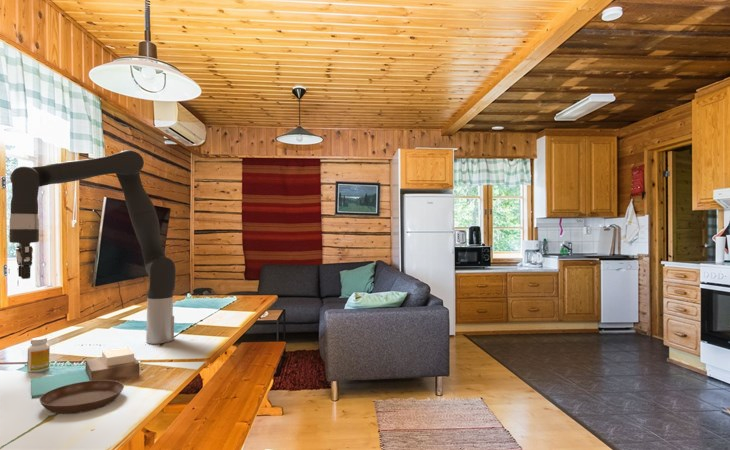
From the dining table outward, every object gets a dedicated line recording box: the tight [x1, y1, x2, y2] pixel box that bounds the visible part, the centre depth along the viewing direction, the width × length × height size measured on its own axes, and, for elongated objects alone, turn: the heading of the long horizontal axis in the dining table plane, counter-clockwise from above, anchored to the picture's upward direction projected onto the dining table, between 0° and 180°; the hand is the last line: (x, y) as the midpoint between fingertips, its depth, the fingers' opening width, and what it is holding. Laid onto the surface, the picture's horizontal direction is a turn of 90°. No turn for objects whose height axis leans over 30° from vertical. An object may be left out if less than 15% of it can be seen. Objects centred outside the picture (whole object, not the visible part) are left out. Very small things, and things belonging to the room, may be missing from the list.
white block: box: [101, 347, 135, 366], centre depth 127 cm, size 7×9×2 cm
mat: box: [30, 369, 90, 399], centre depth 118 cm, size 13×16×1 cm
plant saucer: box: [39, 380, 125, 415], centre depth 106 cm, size 18×18×3 cm
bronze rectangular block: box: [84, 356, 140, 382], centre depth 126 cm, size 12×14×4 cm
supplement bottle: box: [26, 336, 51, 373], centre depth 130 cm, size 5×5×10 cm
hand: (24, 277), depth 137 cm, fingers open, 8 cm apart
